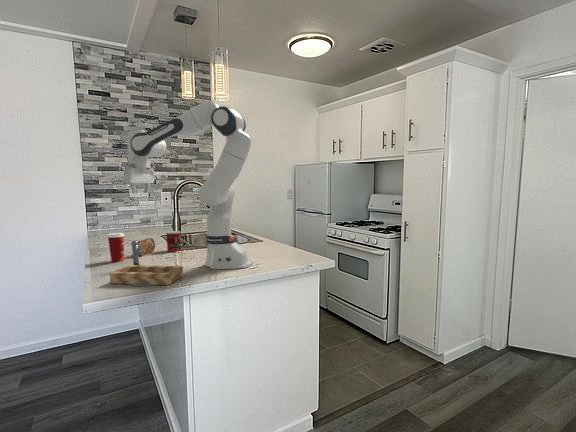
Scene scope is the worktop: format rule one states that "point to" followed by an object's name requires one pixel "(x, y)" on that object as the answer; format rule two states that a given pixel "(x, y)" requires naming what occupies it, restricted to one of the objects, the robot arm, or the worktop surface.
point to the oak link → (146, 274)
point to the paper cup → (116, 246)
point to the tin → (145, 246)
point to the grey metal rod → (135, 252)
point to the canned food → (173, 241)
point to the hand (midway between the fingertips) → (140, 193)
